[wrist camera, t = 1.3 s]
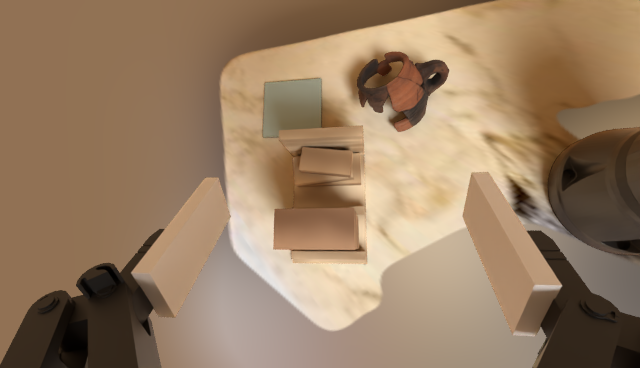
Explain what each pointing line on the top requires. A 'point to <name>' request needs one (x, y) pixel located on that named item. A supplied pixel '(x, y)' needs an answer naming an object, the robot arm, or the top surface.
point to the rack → (329, 181)
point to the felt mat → (291, 106)
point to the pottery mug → (402, 86)
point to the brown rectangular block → (316, 229)
